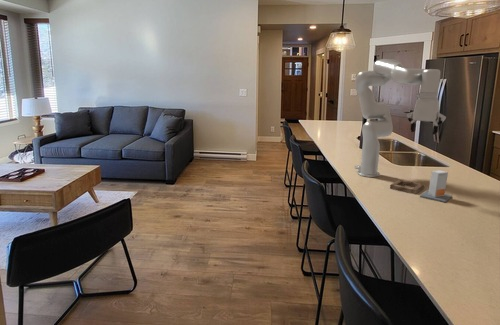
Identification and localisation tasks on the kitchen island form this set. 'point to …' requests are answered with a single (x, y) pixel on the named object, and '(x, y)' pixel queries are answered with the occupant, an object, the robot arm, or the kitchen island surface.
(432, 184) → the skincare box
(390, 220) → the kitchen island surface
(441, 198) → the slate mat
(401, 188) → the pocket holder
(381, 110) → the robot arm
